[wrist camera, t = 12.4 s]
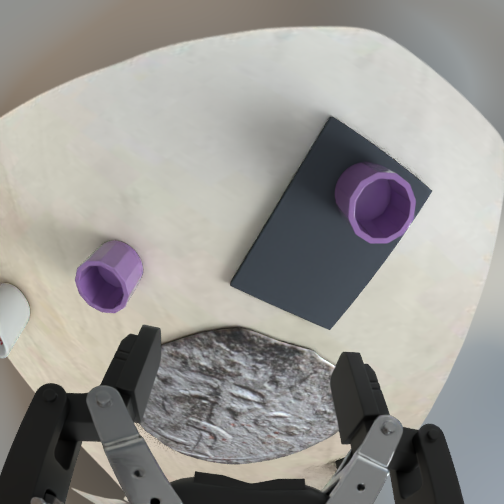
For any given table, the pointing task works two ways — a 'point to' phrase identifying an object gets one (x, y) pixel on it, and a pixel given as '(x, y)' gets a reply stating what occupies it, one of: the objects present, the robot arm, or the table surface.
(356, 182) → the purple hollow cylinder
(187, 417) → the ancient coin
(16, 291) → the cup
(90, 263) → the purple faceted cup
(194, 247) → the table surface
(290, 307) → the mat
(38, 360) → the table surface
